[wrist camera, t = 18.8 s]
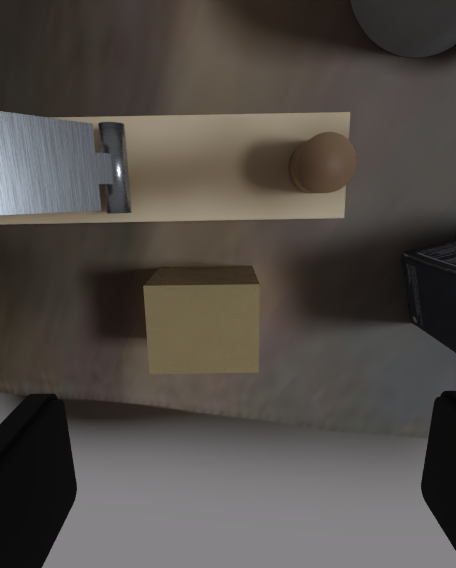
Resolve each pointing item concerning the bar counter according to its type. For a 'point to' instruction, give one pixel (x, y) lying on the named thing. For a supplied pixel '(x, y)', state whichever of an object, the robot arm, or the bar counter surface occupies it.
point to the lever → (61, 166)
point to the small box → (433, 290)
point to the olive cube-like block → (202, 320)
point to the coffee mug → (408, 25)
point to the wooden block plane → (226, 168)
